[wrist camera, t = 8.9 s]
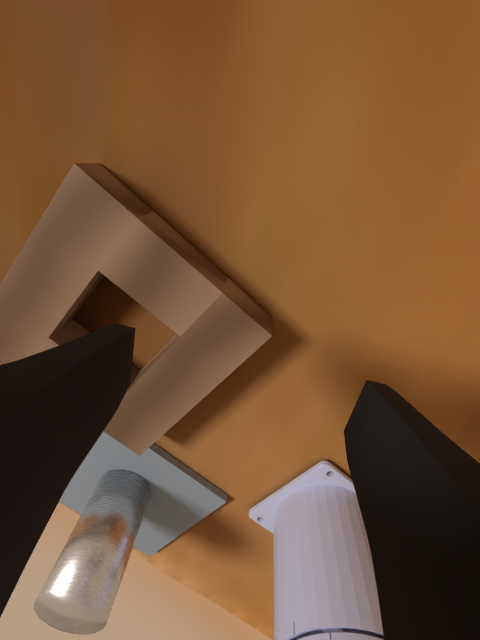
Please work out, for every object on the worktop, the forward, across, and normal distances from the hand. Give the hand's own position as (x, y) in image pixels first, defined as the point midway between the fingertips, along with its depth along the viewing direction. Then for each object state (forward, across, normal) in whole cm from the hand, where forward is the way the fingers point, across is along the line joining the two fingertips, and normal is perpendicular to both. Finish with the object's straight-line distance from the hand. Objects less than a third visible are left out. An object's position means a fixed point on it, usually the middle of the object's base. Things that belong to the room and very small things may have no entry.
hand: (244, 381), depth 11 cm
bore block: (+9, +7, +4) cm, 12 cm away
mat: (+9, +6, +18) cm, 21 cm away
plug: (+9, +6, +18) cm, 21 cm away
